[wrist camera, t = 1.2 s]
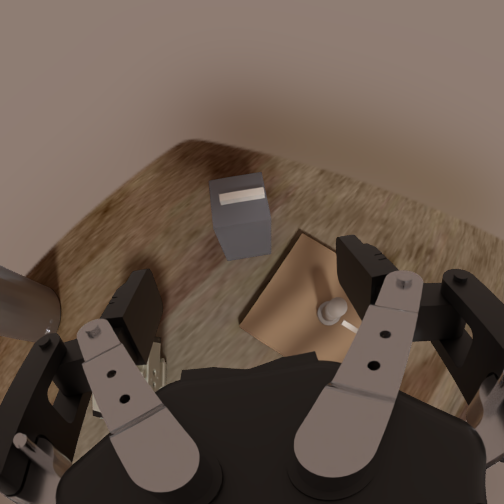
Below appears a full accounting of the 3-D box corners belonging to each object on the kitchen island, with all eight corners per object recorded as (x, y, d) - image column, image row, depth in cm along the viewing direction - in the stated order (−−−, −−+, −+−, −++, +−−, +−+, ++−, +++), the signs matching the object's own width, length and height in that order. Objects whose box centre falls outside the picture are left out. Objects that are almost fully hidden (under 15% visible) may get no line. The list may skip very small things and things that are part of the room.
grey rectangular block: (227, 260, 38) (211, 224, 27) (222, 221, 39) (207, 176, 29) (271, 253, 38) (271, 215, 27) (263, 215, 39) (261, 167, 29)
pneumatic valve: (137, 413, 31) (87, 430, 20) (139, 326, 35) (89, 311, 24) (178, 419, 31) (138, 444, 20) (179, 329, 35) (139, 316, 24)
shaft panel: (239, 327, 35) (233, 321, 29) (301, 236, 38) (306, 215, 32) (349, 395, 31) (365, 403, 25) (402, 300, 34) (424, 289, 28)
